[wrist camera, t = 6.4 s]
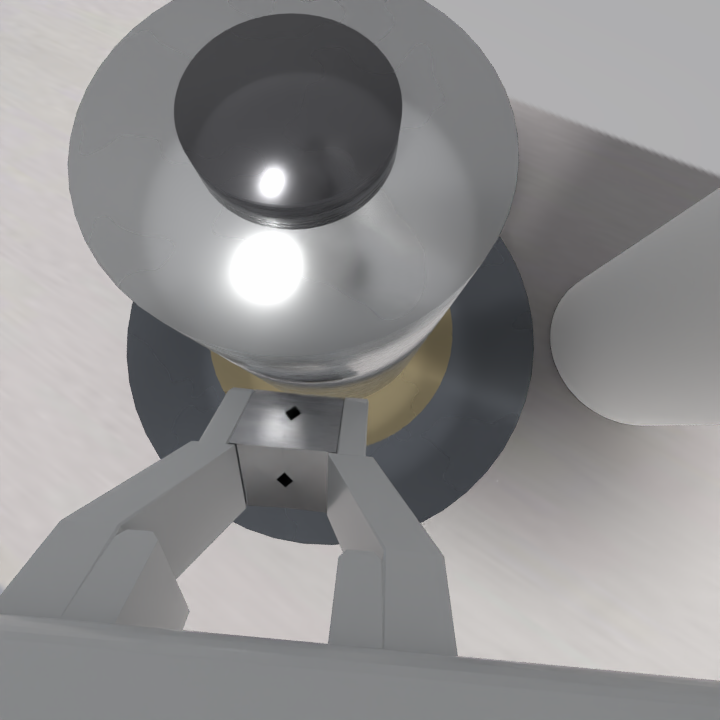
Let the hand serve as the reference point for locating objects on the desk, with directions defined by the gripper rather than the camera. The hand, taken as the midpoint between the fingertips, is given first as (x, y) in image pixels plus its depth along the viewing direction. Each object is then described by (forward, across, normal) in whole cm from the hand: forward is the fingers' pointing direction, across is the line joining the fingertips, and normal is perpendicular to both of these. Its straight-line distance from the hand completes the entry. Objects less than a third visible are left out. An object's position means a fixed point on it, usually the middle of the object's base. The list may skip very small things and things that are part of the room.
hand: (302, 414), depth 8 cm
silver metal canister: (+6, 0, 0) cm, 6 cm away
